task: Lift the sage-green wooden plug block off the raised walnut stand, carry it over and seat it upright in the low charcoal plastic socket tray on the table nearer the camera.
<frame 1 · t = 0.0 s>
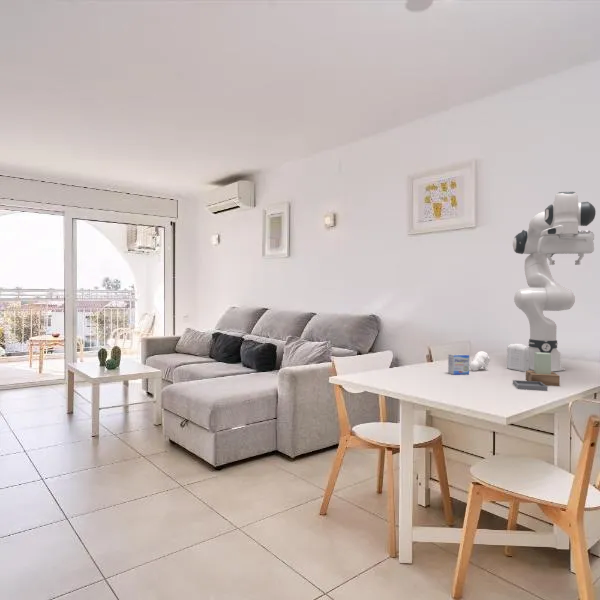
hand: (564, 264, 187), 48 cm above the table, fingers open, 8 cm apart
plug block: (542, 373, 184), point 4 cm above the table, touching walnut stand
walnut stand: (542, 382, 184), on the table
charcoal tray: (529, 387, 175), on the table
medicine box: (458, 374, 202), on the table
white upright block: (517, 370, 214), on the table
white lumpy piece: (478, 370, 213), on the table
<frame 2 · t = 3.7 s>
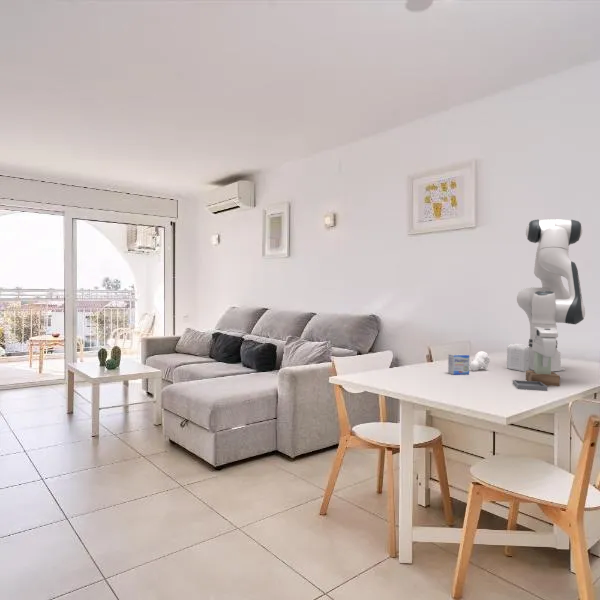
hand: (542, 365, 183), 7 cm above the table, fingers closed on plug block, 5 cm apart
plug block: (542, 373, 184), point 4 cm above the table, touching gripper, walnut stand
everything else where it was.
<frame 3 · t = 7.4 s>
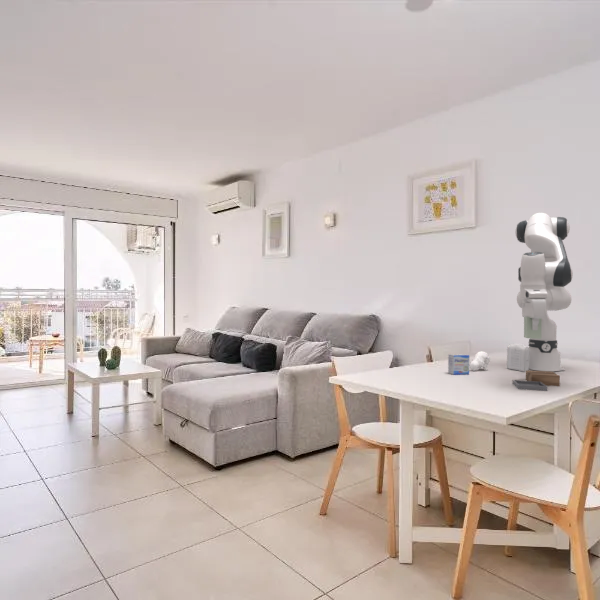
hand: (532, 329, 175), 22 cm above the table, fingers closed on plug block, 5 cm apart
plug block: (532, 337, 175), point 19 cm above the table, touching gripper
everything else where it was.
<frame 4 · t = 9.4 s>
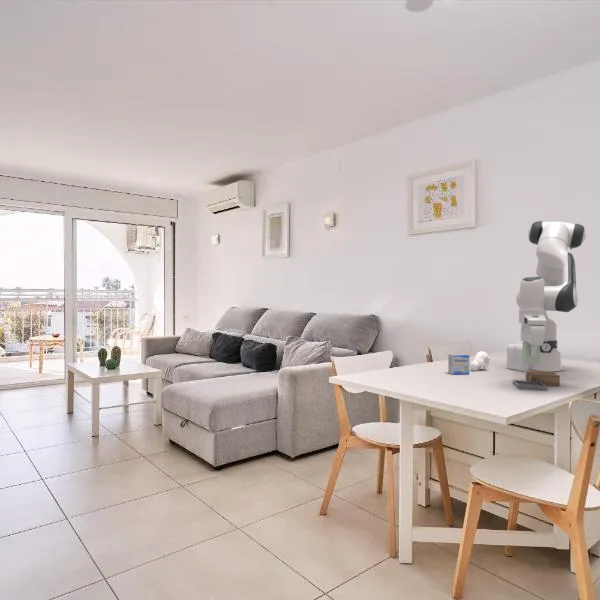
hand: (531, 355, 174), 12 cm above the table, fingers closed on plug block, 5 cm apart
plug block: (530, 363, 174), point 9 cm above the table, touching gripper
everything else where it was.
when the fingers open (5 cm above the table, at t = 11.3 s): plug block stays where it is, resting on charcoal tray.
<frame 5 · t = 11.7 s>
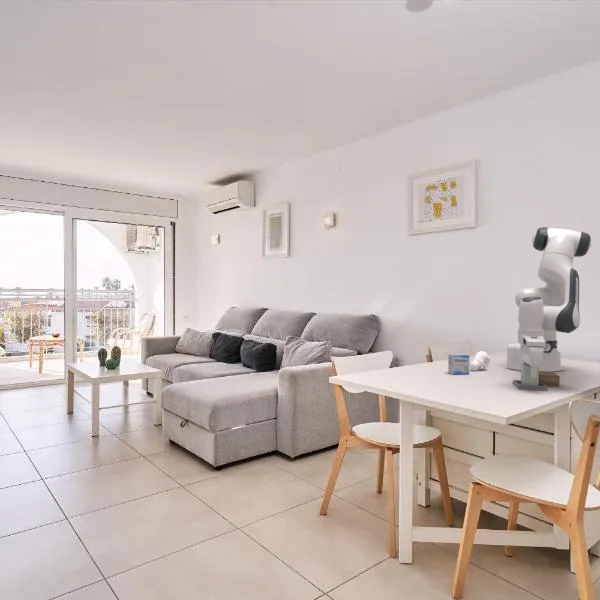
hand: (529, 375, 175), 5 cm above the table, fingers open, 8 cm apart
plug block: (529, 385, 175), resting on charcoal tray
everything else where it was.
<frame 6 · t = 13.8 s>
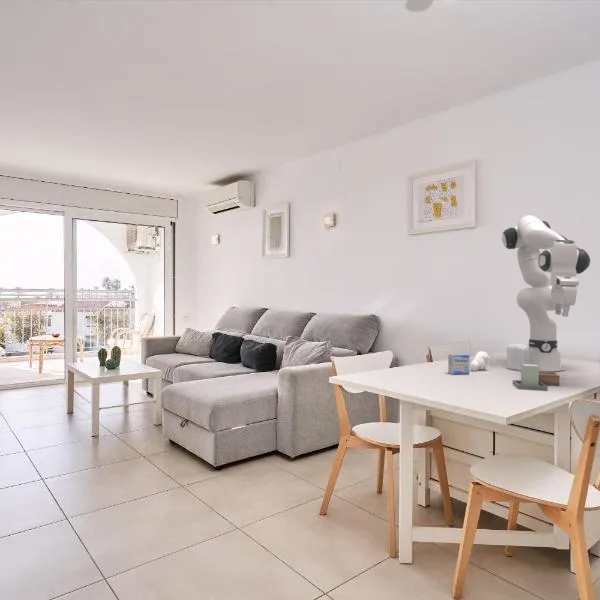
hand: (561, 315, 181), 27 cm above the table, fingers open, 8 cm apart
nothing on the table moved.
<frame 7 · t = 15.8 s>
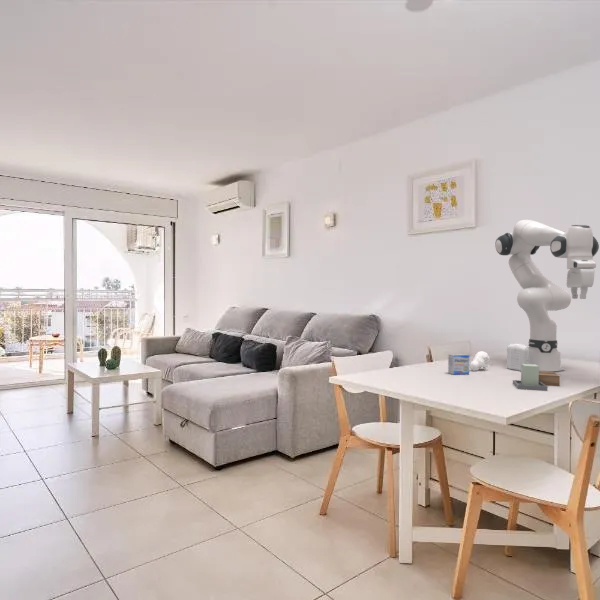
hand: (578, 298, 184), 34 cm above the table, fingers open, 8 cm apart
nothing on the table moved.
at the end: plug block 0.1 cm off-centre on the charcoal tray, point 0.5 cm above the charcoal tray's base; plug block tilted 0°; the gripper is holding nothing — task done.
